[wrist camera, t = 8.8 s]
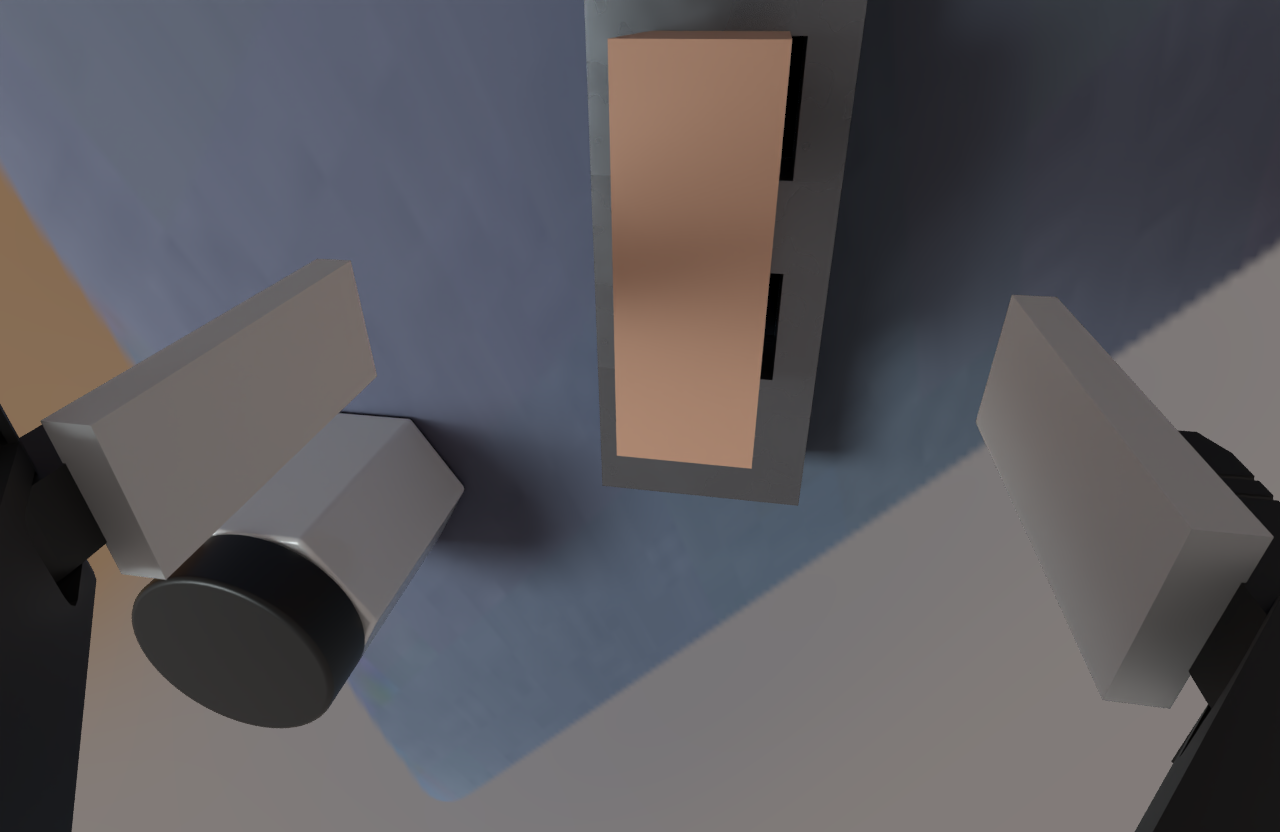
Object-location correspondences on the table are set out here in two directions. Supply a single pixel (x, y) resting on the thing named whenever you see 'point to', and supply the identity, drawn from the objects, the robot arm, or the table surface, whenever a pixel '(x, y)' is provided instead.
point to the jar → (300, 574)
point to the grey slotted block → (802, 244)
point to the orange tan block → (693, 235)
